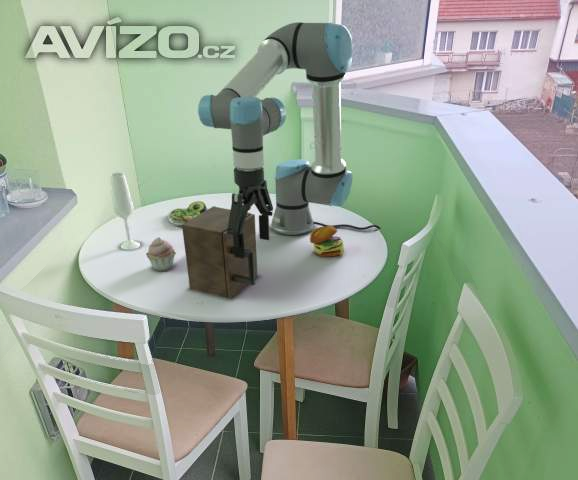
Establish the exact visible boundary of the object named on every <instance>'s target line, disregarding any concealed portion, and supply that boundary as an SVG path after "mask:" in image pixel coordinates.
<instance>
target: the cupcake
mask: <svg viewBox="0 0 578 480" xmlns="http://www.w3.org/2000/svg"><path fill="white" fill-rule="evenodd" d="M176 253H177V252H176V251H175V249H174V247H173V245H172V244H170V243H169V242H168V241H167V240H165V239H162V238H161V237H160V236H159V237H155V238H154V239H153V240H152V241H151V244H150V245H149V246H148V251H147V252H146V253H145V255H146V258H147V259H148V260H149V262H150V264H151V267H152V269H153V270H154V271H158V272H165V271H169V270H171V269H172V268H173V266H174V260H175V256H176Z"/></svg>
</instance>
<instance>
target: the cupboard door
mask: <svg viewBox="0 0 578 480" xmlns="http://www.w3.org/2000/svg"><path fill="white" fill-rule="evenodd" d="M256 233H257V232H256V215H255V213H251V215H249V216H248V217H246V219H245V223H244V226H243V229H242V234H243V235H244V253H245V258H238V257H234V245H233V235H232V234H228V233H227V231H225V232H224V233H223V245H224V257H225V269H226V282H227V294H228V298H227V299H230V300H231V299H232V298H234V297H235V296H236V295H238V294H239V293H240V292H241V291H242V290H243V289H244V288H246V287H247V286H255V285H256V279H257V278H258V261H257V260H258V256H257V234H256Z"/></svg>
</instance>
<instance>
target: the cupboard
mask: <svg viewBox="0 0 578 480" xmlns="http://www.w3.org/2000/svg"><path fill="white" fill-rule="evenodd" d="M230 211H231V208H230V209H229V208H225V207H217V206H211V207H209V209H208V210H206V211H205V212H203V213H201V214H199V215H198V216H196V217H194V218H193V219H191V220H189V221H187V222H186V223H184V224H182V227H181V228H182V229H181V230H182V236H183V244H184V251H185V252H184V253H185V261H186V268H187V275H188V277H187V278H188V285H189V290H191V291H196V292H200V293H205V294H208V295H212V296H216V297H221V298H224V299H229V298H228V294H227V282H226V269H225V257H224V245H223V233H224V232H225V231H227V228H228V222H229V216H230ZM251 214H252V213H251V212H248V213H247V216H246V217H248V216H249V215H251Z"/></svg>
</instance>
